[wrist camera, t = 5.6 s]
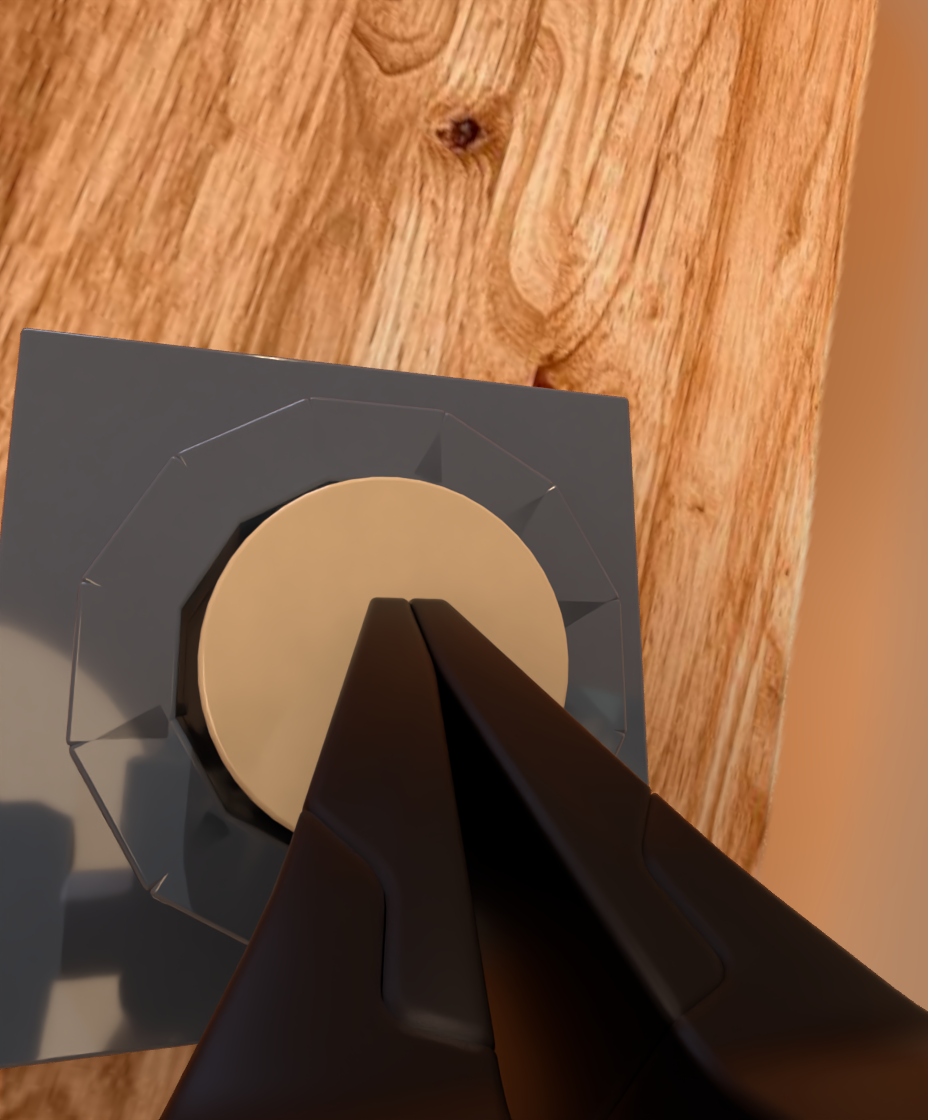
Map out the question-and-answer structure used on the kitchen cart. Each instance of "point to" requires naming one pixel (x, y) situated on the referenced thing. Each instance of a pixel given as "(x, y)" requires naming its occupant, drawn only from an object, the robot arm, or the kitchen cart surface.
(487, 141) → the kitchen cart surface
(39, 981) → the grey button base
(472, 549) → the tan push button
